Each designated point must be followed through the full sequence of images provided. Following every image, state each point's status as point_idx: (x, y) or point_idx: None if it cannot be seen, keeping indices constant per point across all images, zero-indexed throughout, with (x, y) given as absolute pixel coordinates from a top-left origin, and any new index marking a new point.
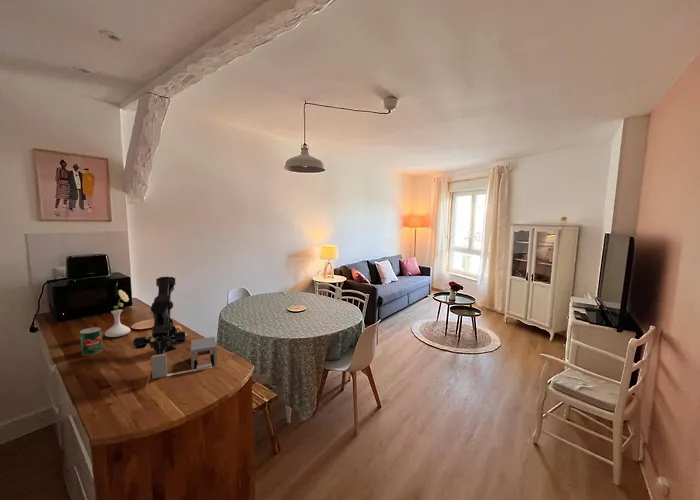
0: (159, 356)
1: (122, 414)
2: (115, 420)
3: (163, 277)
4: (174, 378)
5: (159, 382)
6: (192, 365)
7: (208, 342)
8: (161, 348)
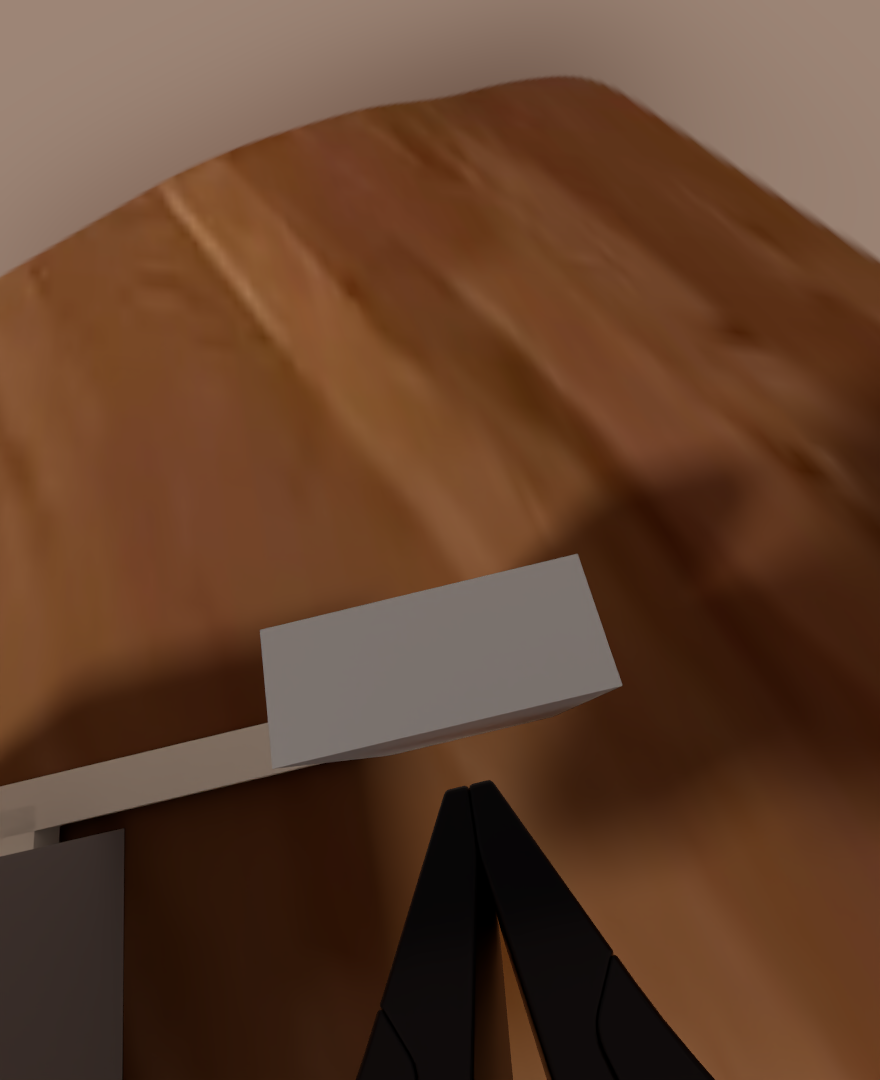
0: (402, 598)
1: (551, 219)
2: (563, 175)
3: None
4: None
5: None
6: (42, 848)
7: None
8: (451, 1075)
